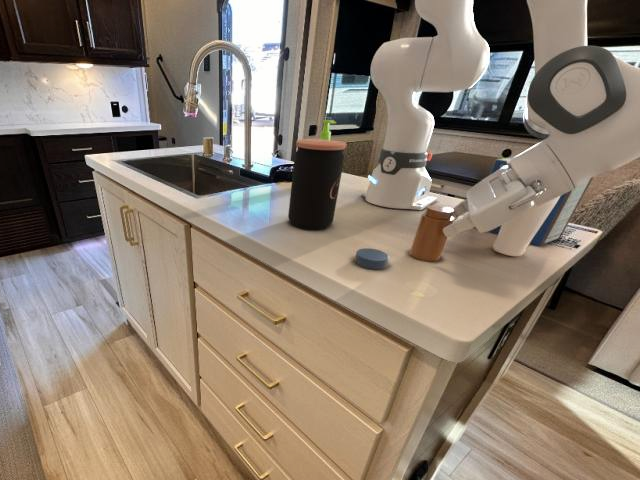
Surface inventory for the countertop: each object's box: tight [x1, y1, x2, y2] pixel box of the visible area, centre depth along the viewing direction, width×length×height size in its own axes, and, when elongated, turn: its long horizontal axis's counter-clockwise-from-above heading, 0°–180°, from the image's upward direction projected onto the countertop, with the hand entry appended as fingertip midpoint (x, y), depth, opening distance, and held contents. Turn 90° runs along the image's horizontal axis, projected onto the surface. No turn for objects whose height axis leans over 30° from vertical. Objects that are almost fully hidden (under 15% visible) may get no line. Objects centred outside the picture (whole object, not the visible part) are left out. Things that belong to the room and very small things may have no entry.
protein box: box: [489, 156, 594, 247], centre depth 76 cm, size 10×15×16 cm
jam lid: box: [354, 247, 390, 270], centre depth 63 cm, size 6×6×2 cm
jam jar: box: [409, 204, 455, 262], centre depth 64 cm, size 5×5×9 cm
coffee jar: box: [287, 138, 348, 231], centre depth 77 cm, size 11×11×18 cm
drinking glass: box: [492, 196, 560, 257], centre depth 65 cm, size 7×7×15 cm
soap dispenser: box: [318, 119, 337, 140], centre depth 113 cm, size 6×7×20 cm
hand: (445, 225), depth 63 cm, fingers open, 8 cm apart
